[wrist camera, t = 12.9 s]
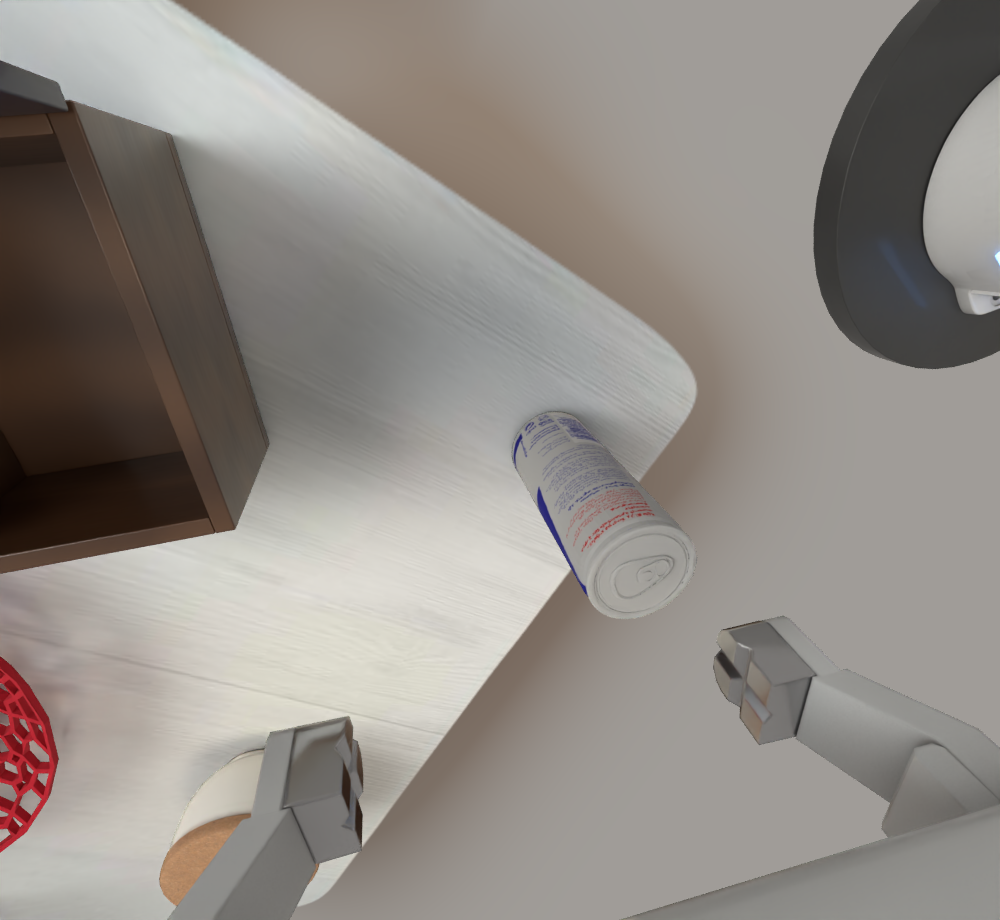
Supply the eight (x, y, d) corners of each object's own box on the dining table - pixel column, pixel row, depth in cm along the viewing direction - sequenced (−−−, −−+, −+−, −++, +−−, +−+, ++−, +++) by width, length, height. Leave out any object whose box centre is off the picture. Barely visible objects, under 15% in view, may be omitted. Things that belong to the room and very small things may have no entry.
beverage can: (495, 460, 37) (563, 602, 24) (539, 394, 36) (638, 506, 23) (556, 492, 40) (649, 637, 27) (600, 431, 38) (721, 552, 25)
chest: (269, 444, 33) (235, 529, 25) (26, 485, 31) (-105, 594, 23) (171, 133, 26) (72, 99, 17) (-160, 158, 24) (-465, 135, 15)
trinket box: (252, 711, 42) (224, 834, 34) (352, 761, 47) (349, 879, 39) (161, 787, 44) (113, 923, 35) (268, 828, 49) (247, 956, 40)
